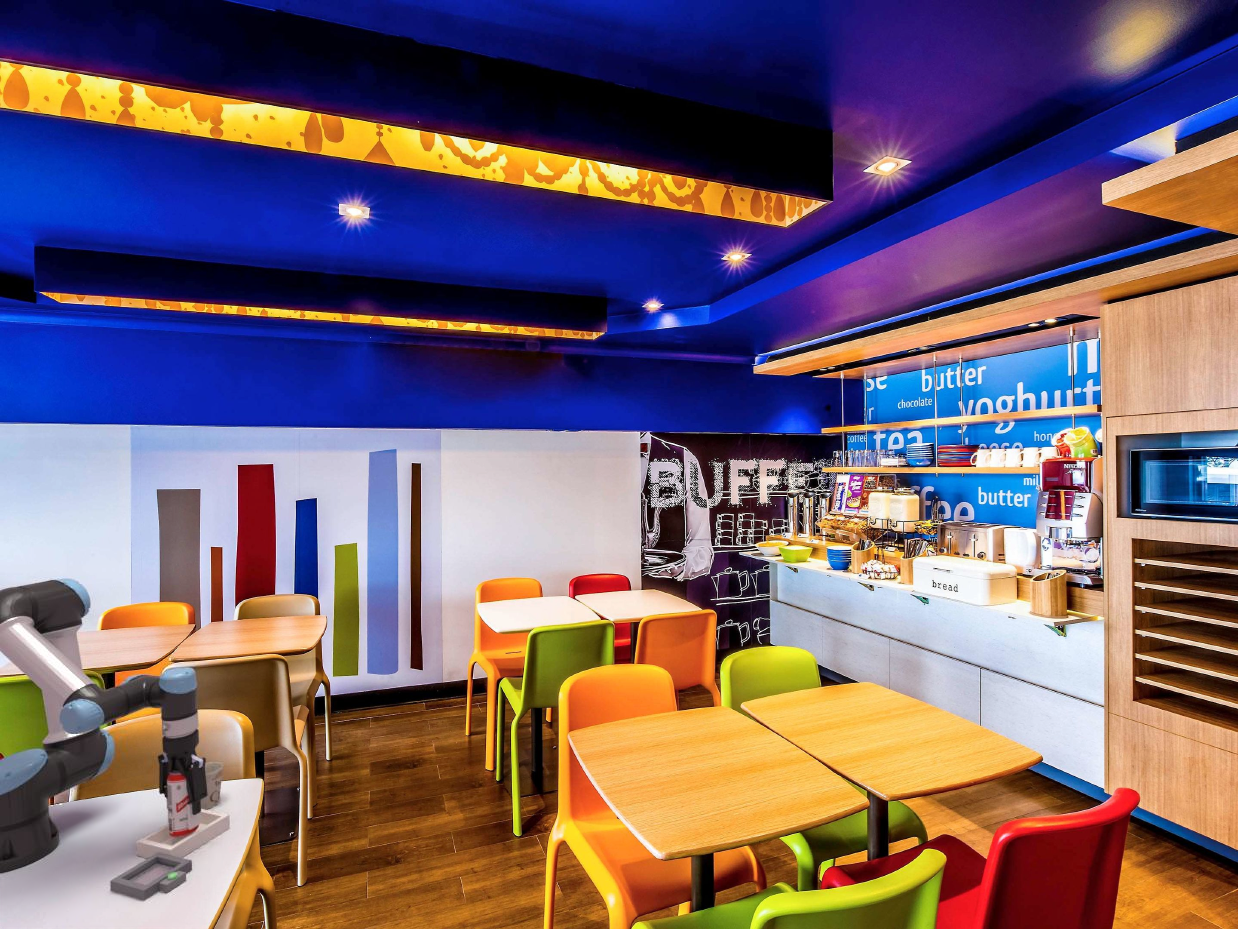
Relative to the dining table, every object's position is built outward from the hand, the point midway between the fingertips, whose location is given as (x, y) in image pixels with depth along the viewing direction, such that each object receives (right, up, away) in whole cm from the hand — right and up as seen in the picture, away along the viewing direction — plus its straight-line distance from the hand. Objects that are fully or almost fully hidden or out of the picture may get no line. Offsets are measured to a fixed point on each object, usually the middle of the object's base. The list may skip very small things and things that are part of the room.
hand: (184, 824), depth 162 cm
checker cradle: (+3, -5, -15) cm, 16 cm away
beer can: (0, -2, 0) cm, 2 cm away
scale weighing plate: (+2, -6, -14) cm, 16 cm away
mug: (-8, -5, +18) cm, 20 cm away
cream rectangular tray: (0, -4, 0) cm, 4 cm away
